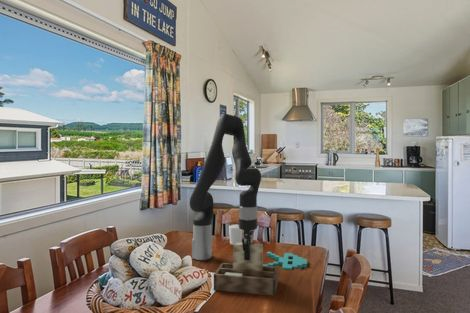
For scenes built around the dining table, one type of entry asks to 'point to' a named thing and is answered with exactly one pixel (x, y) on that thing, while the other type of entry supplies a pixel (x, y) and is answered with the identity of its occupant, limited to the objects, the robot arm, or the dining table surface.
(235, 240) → the white cup
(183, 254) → the dining table surface
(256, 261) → the birch panel
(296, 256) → the alien figure
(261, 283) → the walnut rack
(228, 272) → the sage offcut
